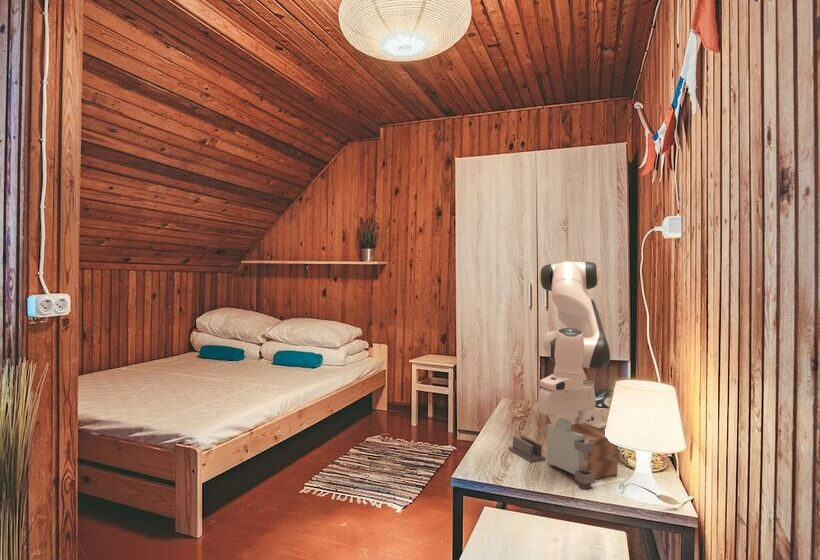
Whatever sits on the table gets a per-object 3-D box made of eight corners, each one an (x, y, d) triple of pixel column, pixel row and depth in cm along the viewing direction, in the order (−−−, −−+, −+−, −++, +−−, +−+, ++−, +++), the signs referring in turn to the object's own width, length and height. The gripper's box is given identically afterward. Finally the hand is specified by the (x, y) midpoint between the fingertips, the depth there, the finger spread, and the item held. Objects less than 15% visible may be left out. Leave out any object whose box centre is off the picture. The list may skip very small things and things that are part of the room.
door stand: (522, 449, 174) (523, 433, 174) (545, 461, 163) (545, 445, 163) (508, 451, 171) (509, 435, 171) (530, 464, 160) (531, 447, 160)
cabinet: (583, 461, 165) (585, 416, 164) (625, 482, 149) (627, 433, 148) (545, 467, 158) (547, 421, 158) (584, 490, 142) (586, 438, 142)
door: (554, 464, 160) (554, 414, 160) (595, 482, 144) (594, 427, 144) (544, 465, 158) (544, 415, 159) (584, 484, 142) (584, 428, 143)
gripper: (586, 377, 159) (584, 419, 159) (535, 380, 151) (533, 425, 151) (601, 381, 153) (599, 425, 153) (549, 385, 145) (547, 432, 145)
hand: (566, 425), depth 152 cm, fingers open, 8 cm apart
